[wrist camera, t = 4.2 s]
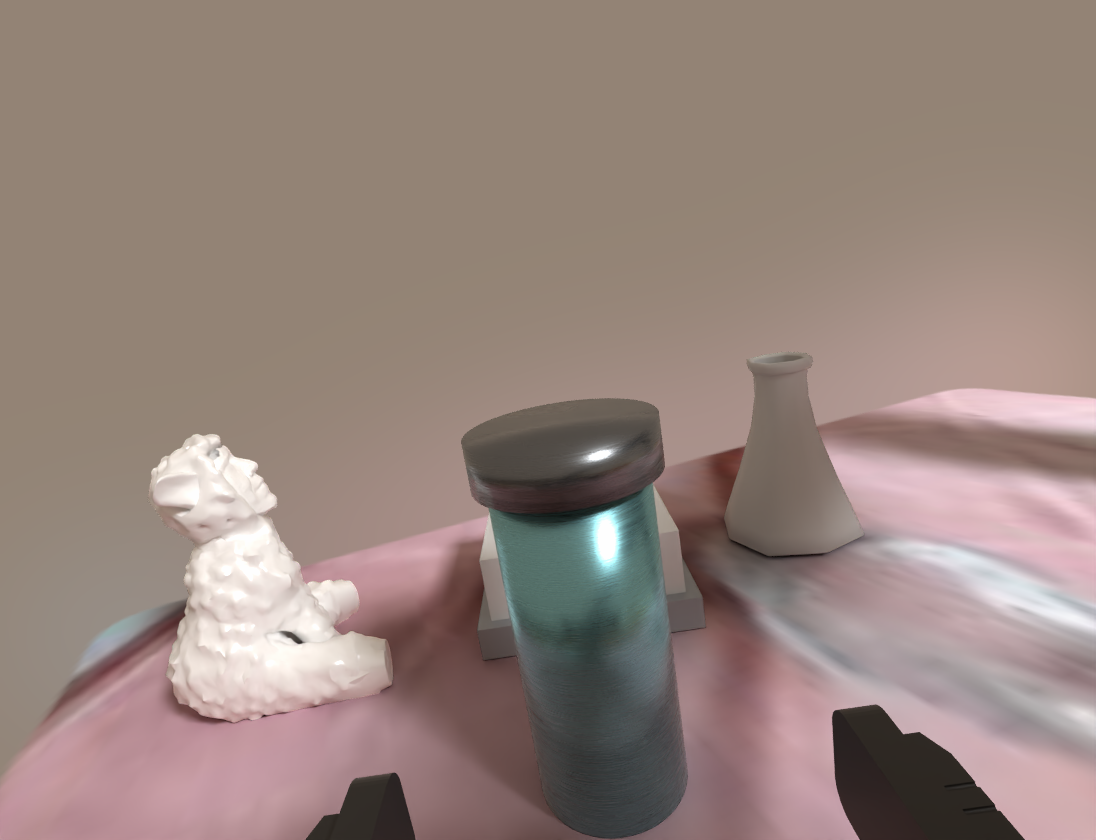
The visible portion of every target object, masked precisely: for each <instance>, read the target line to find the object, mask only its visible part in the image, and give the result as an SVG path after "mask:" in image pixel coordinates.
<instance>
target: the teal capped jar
mask: <svg viewBox="0 0 1096 840" xmlns="http://www.w3.org/2000/svg"><path fill="white" fill-rule="evenodd" d="M461 444H462V449H463V454H464V459H465V464H466V469H467V474H468V480H469V484H470V490H471V494H472V497H473V498H474V500H475V501H477V502H478V503H480V504H481V505H483V506H485V507H488V508H489V513H490V519H491V524H492V529H493V534H494V539H495V545H496V550H497V555H498V560H499V565H500V571H501V576H502V581H503V586H504V591H505V597H506V602H507V607H508V612H509V617H510V623H511V628H512V633H513V638H514V643H515V649H516V654H517V659H518V664H519V669H520V675H521V680H522V685H523V690H524V696H525V701H526V706H527V711H528V716H529V722H530V727H531V732H532V737H533V742H534V748H535V753H536V758H537V763H538V768H539V774H540V779H541V784H542V789H543V793H544V797H545V799H546V802H547V804H548V806H549V807H550V809H551V810H552V812H553V813H554V814H555V815H556V816H557V817H558V818H559V819H560V820H561V821H562V822H563V823H564V824H566V825H567V826H569V827H571V828H572V829H574V830H576V831H579V832H581V833H584V834H587V835H590V836H595V837H601V838H621V837H628V836H633V835H636V834H639V833H642V832H645V831H647V830H649V829H651V828H653V827H655V826H656V825H658V824H659V823H661V822H662V821H664V820H665V819H666V818H667V817H668V816H669V815H670V814H671V813H672V812H673V811H674V810H675V809H676V807H677V806H678V804H679V803H680V801H681V799H682V797H683V795H684V792H685V789H686V785H687V777H688V775H687V763H686V755H685V747H684V738H683V730H682V722H681V713H680V705H679V697H678V689H677V680H676V672H675V664H674V656H673V647H672V639H671V631H670V622H669V614H668V606H667V598H666V589H665V581H664V573H663V564H662V556H661V548H660V540H659V531H658V523H657V515H656V507H655V498H654V490H653V482H654V481H655V480H656V479H657V478H658V477H659V476H660V475H661V474H662V472H663V470H664V467H665V462H664V453H663V444H662V435H661V427H660V419H659V411H658V409H657V408H656V407H655V406H653V405H651V404H649V403H646V402H642V401H637V400H630V399H609V398H608V399H587V400H575V401H567V402H559V403H553V404H547V405H542V406H537V407H533V408H528V409H523V410H520V411H516V412H512V413H509V414H506V415H502V416H500V417H497V418H494V419H491V420H489V421H486V422H484V423H482V424H480V425H478V426H476V427H474V428H473V429H471V430H470V431H468V432H467V433H466V434H465V435H464V436H463V438H462V440H461Z"/></svg>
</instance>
